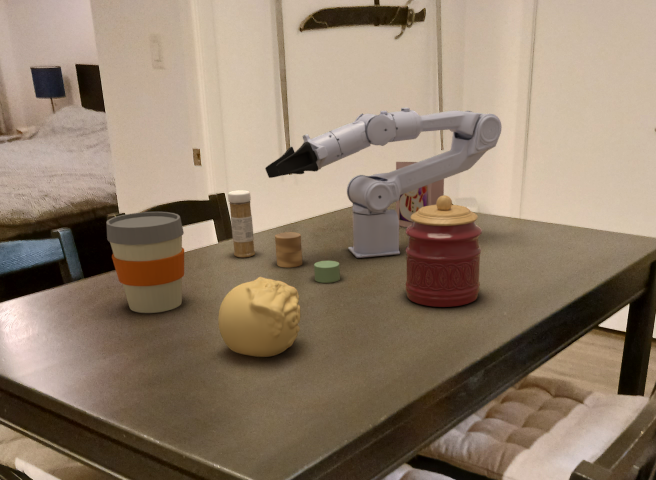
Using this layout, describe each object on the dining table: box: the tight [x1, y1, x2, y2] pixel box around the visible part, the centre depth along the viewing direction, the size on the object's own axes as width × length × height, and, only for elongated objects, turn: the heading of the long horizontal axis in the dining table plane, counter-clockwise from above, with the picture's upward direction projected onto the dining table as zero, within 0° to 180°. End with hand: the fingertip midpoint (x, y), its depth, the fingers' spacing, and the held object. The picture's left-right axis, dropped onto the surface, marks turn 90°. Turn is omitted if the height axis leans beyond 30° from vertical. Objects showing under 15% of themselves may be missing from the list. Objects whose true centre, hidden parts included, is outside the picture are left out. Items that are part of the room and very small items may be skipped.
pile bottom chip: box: [275, 249, 303, 269], centre depth 155 cm, size 5×5×3 cm
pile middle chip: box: [274, 231, 303, 253], centre depth 154 cm, size 5×5×3 cm
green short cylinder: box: [313, 260, 341, 284], centre depth 145 cm, size 5×5×3 cm
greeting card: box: [395, 161, 445, 229], centre depth 180 cm, size 11×7×15 cm, turn 43°
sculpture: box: [217, 276, 301, 358], centre depth 111 cm, size 11×12×11 cm
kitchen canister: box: [405, 195, 483, 308], centre depth 131 cm, size 13×13×18 cm
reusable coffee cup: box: [106, 211, 185, 314], centre depth 131 cm, size 13×13×15 cm
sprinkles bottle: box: [227, 189, 256, 258], centre depth 160 cm, size 5×5×14 cm
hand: (272, 171), depth 147 cm, fingers open, 7 cm apart
